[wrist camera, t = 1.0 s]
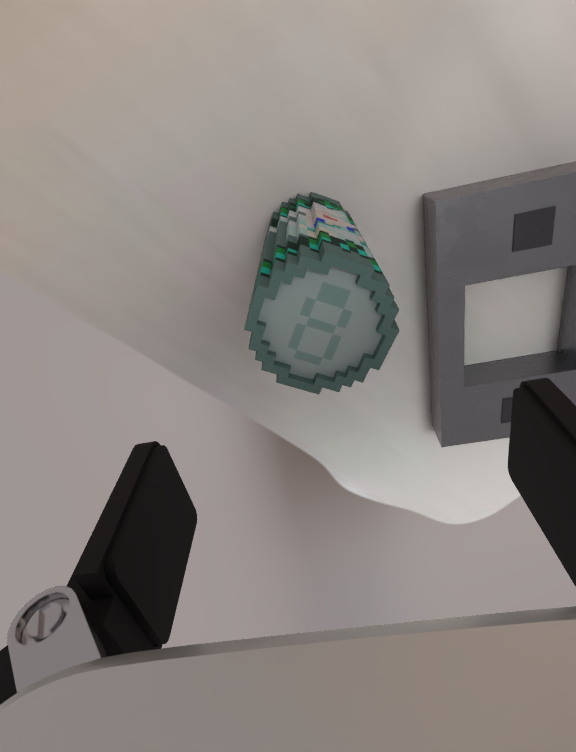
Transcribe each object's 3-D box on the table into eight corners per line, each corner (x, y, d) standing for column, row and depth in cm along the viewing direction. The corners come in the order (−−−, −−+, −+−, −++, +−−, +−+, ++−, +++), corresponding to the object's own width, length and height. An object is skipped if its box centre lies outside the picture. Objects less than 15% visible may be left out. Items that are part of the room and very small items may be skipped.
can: (366, 211, 29) (422, 285, 17) (333, 291, 32) (360, 406, 20) (282, 181, 29) (273, 234, 16) (256, 266, 32) (232, 369, 19)
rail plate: (612, 154, 27) (646, 157, 25) (570, 404, 38) (591, 426, 35) (422, 193, 29) (435, 201, 26) (431, 425, 39) (442, 447, 36)
